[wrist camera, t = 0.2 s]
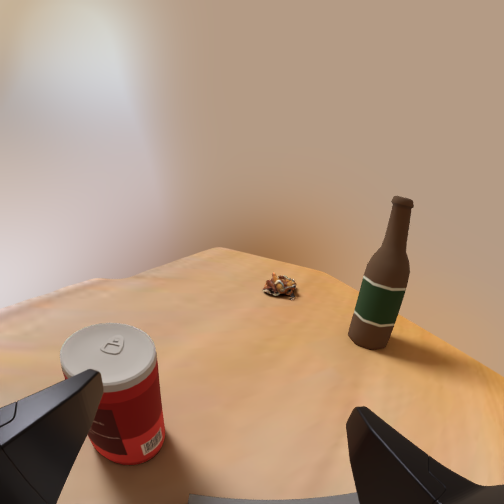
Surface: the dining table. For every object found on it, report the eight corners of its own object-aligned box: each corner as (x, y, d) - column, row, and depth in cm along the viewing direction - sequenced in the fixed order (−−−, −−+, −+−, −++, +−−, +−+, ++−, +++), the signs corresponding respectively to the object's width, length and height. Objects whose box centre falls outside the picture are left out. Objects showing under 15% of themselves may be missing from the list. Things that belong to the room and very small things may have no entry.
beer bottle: (372, 356, 39) (415, 200, 32) (337, 334, 45) (370, 190, 38) (396, 342, 43) (434, 205, 37) (363, 323, 49) (394, 195, 43)
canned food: (163, 407, 26) (156, 322, 23) (170, 468, 18) (157, 388, 15) (95, 404, 23) (73, 318, 20) (88, 463, 16) (46, 379, 13)
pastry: (293, 281, 68) (296, 267, 67) (295, 302, 57) (298, 286, 56) (266, 277, 69) (268, 263, 68) (262, 297, 57) (264, 281, 56)
